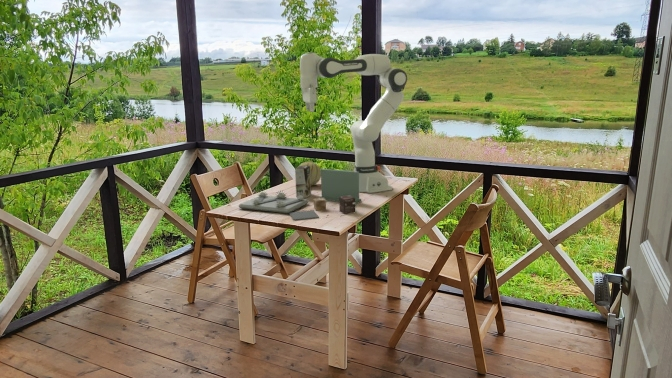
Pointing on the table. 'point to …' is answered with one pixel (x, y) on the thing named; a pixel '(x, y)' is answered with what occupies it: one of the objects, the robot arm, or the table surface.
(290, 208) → the grey spiky constellation board
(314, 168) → the cantaloupe
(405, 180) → the table surface
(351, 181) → the screen
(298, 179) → the coffee box
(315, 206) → the letter cube
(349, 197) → the box
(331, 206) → the table surface
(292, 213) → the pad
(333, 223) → the table surface
